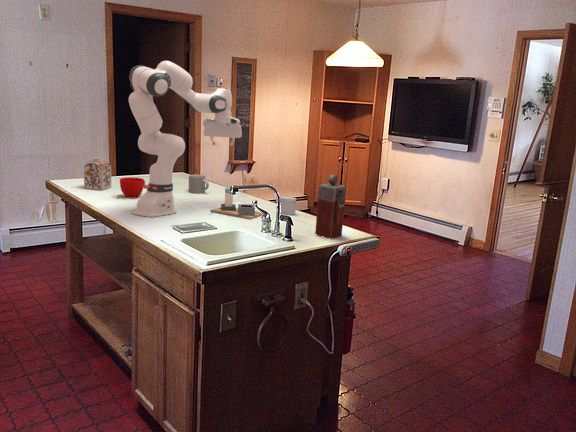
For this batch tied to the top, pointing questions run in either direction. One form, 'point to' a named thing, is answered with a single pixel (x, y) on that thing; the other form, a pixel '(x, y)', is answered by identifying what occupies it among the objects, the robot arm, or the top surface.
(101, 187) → the decorative jar
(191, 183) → the coffee mug
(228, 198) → the plug
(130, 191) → the ceramic cup
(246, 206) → the block
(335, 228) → the brown rectangular canister
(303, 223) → the top surface
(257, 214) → the board
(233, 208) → the holster
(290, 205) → the medicine box
